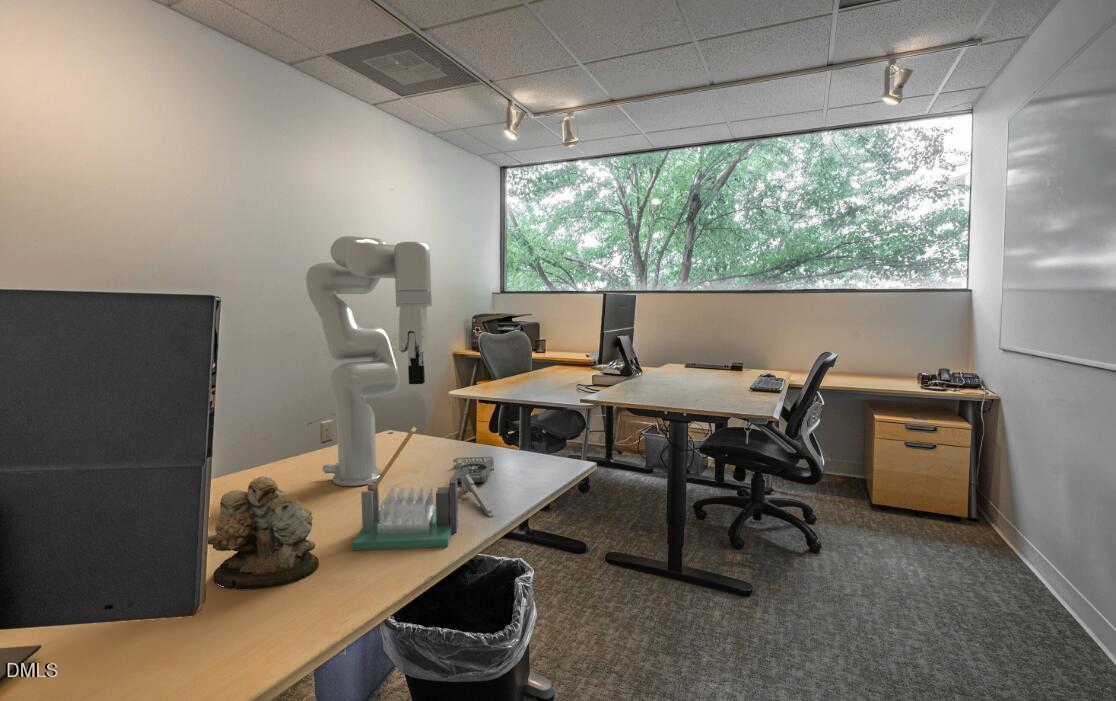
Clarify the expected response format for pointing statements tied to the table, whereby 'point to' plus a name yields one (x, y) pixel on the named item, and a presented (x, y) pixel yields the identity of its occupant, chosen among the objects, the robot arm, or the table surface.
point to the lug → (447, 505)
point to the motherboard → (372, 540)
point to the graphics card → (474, 468)
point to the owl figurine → (263, 537)
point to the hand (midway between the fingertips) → (416, 383)
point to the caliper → (474, 491)
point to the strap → (392, 459)
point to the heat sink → (407, 513)
